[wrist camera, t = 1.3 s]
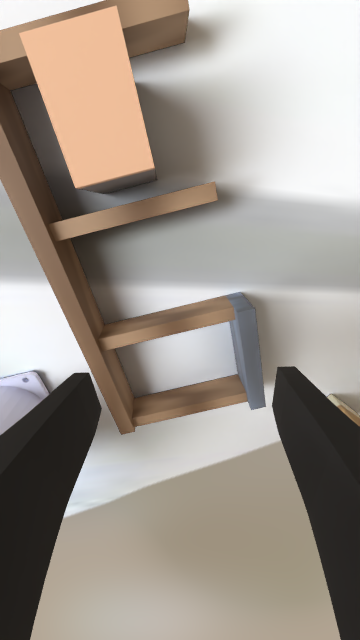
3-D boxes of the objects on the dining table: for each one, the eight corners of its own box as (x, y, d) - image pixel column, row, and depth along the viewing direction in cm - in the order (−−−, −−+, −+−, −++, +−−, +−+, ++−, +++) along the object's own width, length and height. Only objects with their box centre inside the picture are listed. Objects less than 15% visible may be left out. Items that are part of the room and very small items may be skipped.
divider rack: (125, 408, 24) (120, 439, 21) (-21, 73, 14) (-76, 32, 10) (251, 379, 24) (265, 406, 20) (202, 10, 13) (216, -51, 10)
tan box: (103, 193, 16) (75, 188, 11) (72, 98, 14) (18, 32, 9) (156, 180, 16) (154, 167, 11) (133, 82, 14) (116, 5, 9)
